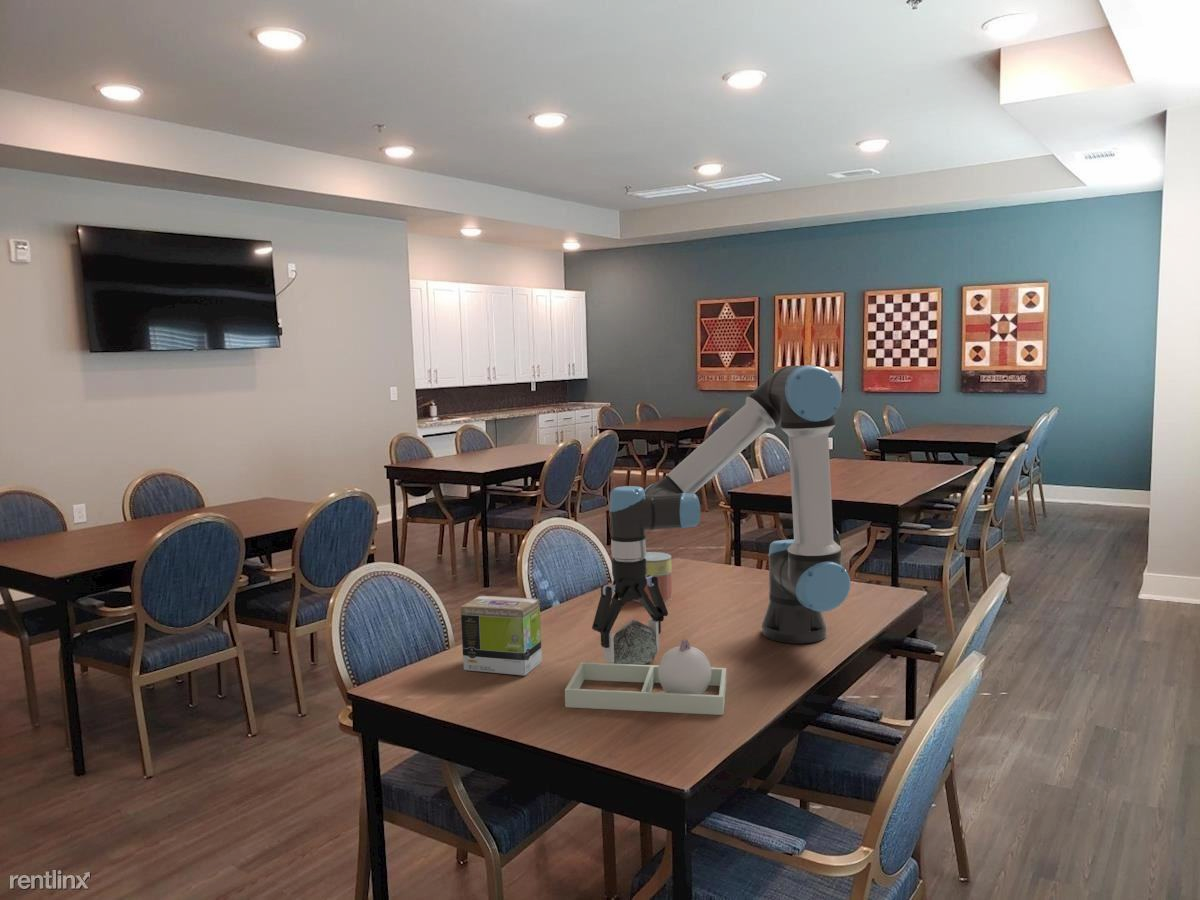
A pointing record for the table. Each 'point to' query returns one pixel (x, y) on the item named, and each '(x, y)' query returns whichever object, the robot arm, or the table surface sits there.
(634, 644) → the stone
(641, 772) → the table surface
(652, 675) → the holder
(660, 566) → the canned food
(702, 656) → the ornament
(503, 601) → the tea box
